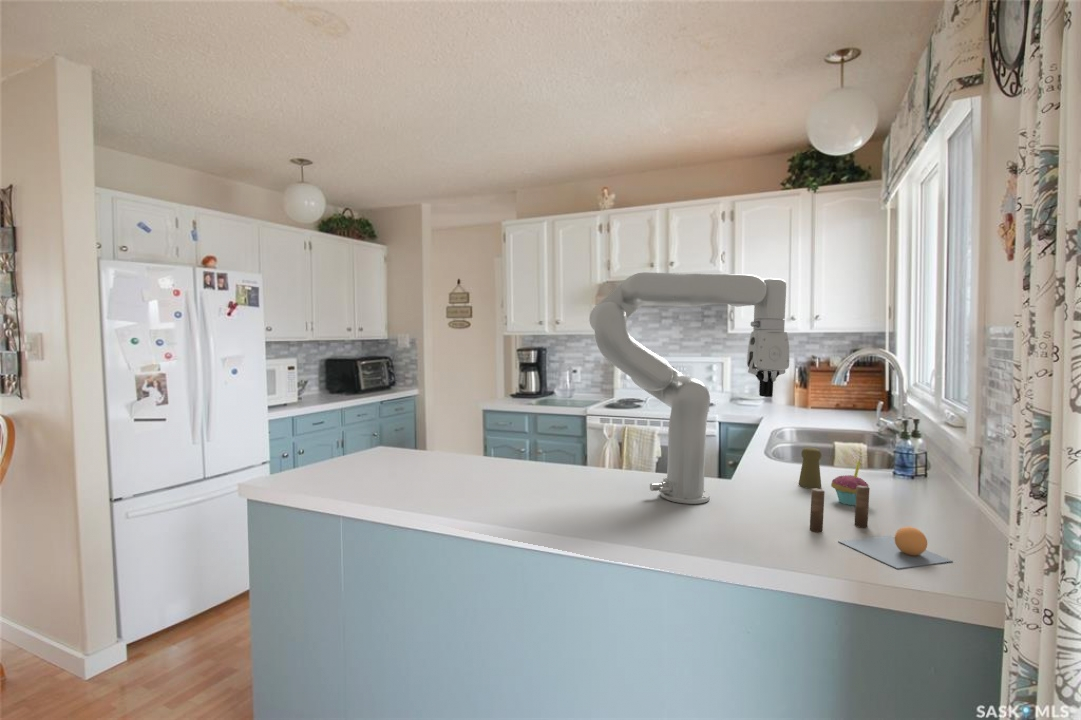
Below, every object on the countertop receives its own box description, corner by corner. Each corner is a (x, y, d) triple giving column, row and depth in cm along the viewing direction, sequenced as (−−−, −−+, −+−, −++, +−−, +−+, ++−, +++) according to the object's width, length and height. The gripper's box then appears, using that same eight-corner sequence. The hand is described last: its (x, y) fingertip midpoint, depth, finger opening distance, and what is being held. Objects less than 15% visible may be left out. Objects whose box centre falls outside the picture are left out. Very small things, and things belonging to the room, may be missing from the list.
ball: (918, 543, 110) (895, 523, 114) (905, 563, 112) (883, 542, 117) (938, 539, 112) (915, 519, 116) (926, 559, 114) (903, 538, 119)
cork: (816, 483, 167) (818, 446, 167) (824, 489, 161) (826, 450, 161) (795, 482, 168) (797, 445, 167) (802, 488, 162) (804, 449, 161)
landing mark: (897, 569, 107) (897, 568, 107) (838, 542, 120) (838, 541, 120) (952, 561, 111) (952, 560, 111) (890, 536, 125) (890, 535, 125)
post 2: (861, 528, 129) (863, 489, 129) (851, 524, 132) (853, 485, 131) (870, 527, 130) (872, 488, 130) (860, 523, 133) (862, 485, 132)
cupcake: (864, 500, 151) (866, 455, 151) (871, 509, 143) (873, 462, 143) (828, 496, 154) (830, 452, 153) (833, 505, 146) (835, 459, 145)
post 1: (815, 532, 126) (817, 492, 125) (807, 528, 128) (808, 489, 128) (825, 531, 126) (827, 491, 126) (816, 527, 129) (818, 488, 128)
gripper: (753, 325, 143) (750, 398, 144) (802, 327, 148) (799, 397, 149) (735, 325, 150) (732, 395, 151) (782, 326, 155) (779, 394, 156)
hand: (765, 396), depth 150 cm, fingers closed
